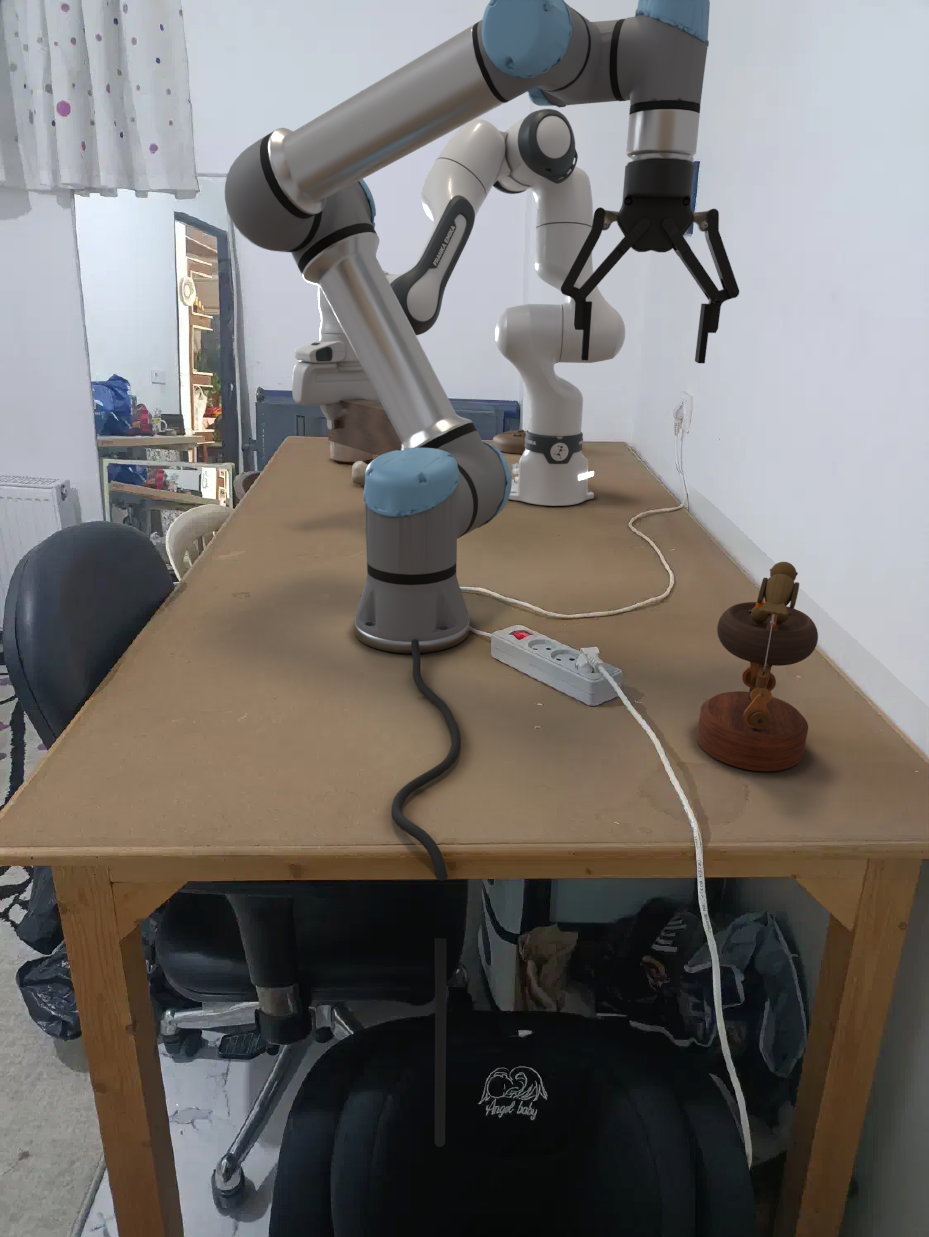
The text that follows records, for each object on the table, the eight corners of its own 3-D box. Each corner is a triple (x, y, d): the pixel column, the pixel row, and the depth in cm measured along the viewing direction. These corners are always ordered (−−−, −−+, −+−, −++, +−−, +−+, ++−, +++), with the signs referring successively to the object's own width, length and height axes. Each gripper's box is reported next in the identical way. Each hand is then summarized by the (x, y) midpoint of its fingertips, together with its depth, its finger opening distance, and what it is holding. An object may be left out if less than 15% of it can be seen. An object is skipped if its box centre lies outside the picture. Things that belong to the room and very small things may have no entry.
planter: (327, 456, 217) (325, 418, 214) (369, 454, 220) (368, 417, 217) (334, 465, 208) (332, 425, 204) (377, 463, 211) (376, 424, 207)
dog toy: (438, 479, 195) (438, 457, 193) (442, 485, 190) (442, 463, 188) (350, 481, 192) (349, 459, 190) (351, 487, 187) (351, 464, 185)
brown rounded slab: (498, 463, 213) (499, 446, 211) (490, 442, 239) (491, 427, 237) (581, 463, 214) (582, 447, 212) (564, 443, 240) (565, 428, 238)
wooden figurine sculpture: (826, 784, 80) (847, 586, 73) (707, 784, 81) (715, 589, 74) (787, 708, 94) (802, 535, 87) (686, 708, 95) (692, 539, 88)
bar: (431, 461, 141) (431, 412, 139) (406, 464, 139) (406, 414, 136) (351, 438, 162) (349, 395, 160) (328, 440, 160) (326, 397, 157)
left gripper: (768, 165, 95) (742, 360, 103) (547, 163, 98) (538, 355, 106) (785, 156, 89) (755, 366, 97) (546, 155, 91) (536, 361, 99)
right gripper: (385, 347, 161) (387, 421, 166) (286, 350, 149) (290, 429, 154) (403, 349, 156) (404, 425, 161) (301, 352, 145) (306, 434, 150)
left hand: (641, 361), depth 101 cm, fingers open, 13 cm apart
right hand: (347, 427), depth 158 cm, fingers closed on bar, 5 cm apart
